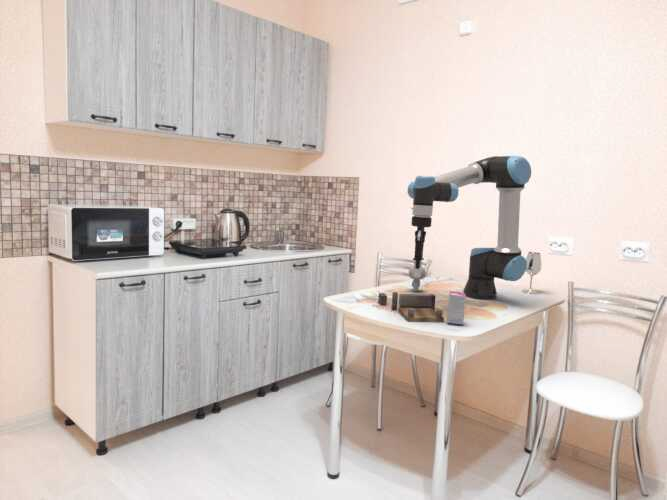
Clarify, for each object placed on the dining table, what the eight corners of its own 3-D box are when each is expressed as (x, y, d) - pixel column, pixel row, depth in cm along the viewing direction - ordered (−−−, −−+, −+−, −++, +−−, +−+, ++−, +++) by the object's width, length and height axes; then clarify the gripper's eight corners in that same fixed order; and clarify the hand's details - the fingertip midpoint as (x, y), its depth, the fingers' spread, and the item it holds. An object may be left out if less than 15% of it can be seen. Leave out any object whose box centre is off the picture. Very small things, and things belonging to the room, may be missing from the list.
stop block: (383, 302, 215) (384, 293, 215) (386, 305, 210) (387, 296, 210) (378, 302, 215) (378, 293, 214) (380, 305, 210) (381, 295, 210)
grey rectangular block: (399, 309, 203) (400, 294, 202) (398, 307, 206) (399, 293, 205) (434, 310, 205) (435, 295, 204) (432, 308, 208) (433, 293, 207)
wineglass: (521, 292, 250) (525, 252, 247) (521, 289, 257) (526, 251, 254) (538, 294, 247) (542, 254, 244) (538, 291, 254) (542, 252, 252)
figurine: (409, 288, 246) (411, 264, 244) (425, 290, 243) (427, 266, 242) (406, 291, 239) (407, 266, 237) (421, 293, 236) (423, 268, 234)
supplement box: (463, 326, 185) (466, 295, 184) (447, 324, 187) (449, 294, 185) (462, 321, 191) (465, 292, 190) (446, 320, 192) (449, 290, 191)
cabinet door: (429, 309, 207) (430, 292, 206) (443, 322, 189) (445, 304, 188) (390, 308, 205) (392, 292, 204) (402, 321, 187) (403, 303, 186)
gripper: (414, 214, 201) (409, 272, 204) (410, 216, 189) (405, 278, 192) (433, 216, 199) (427, 274, 202) (430, 217, 187) (425, 280, 190)
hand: (416, 276), depth 197 cm, fingers closed
